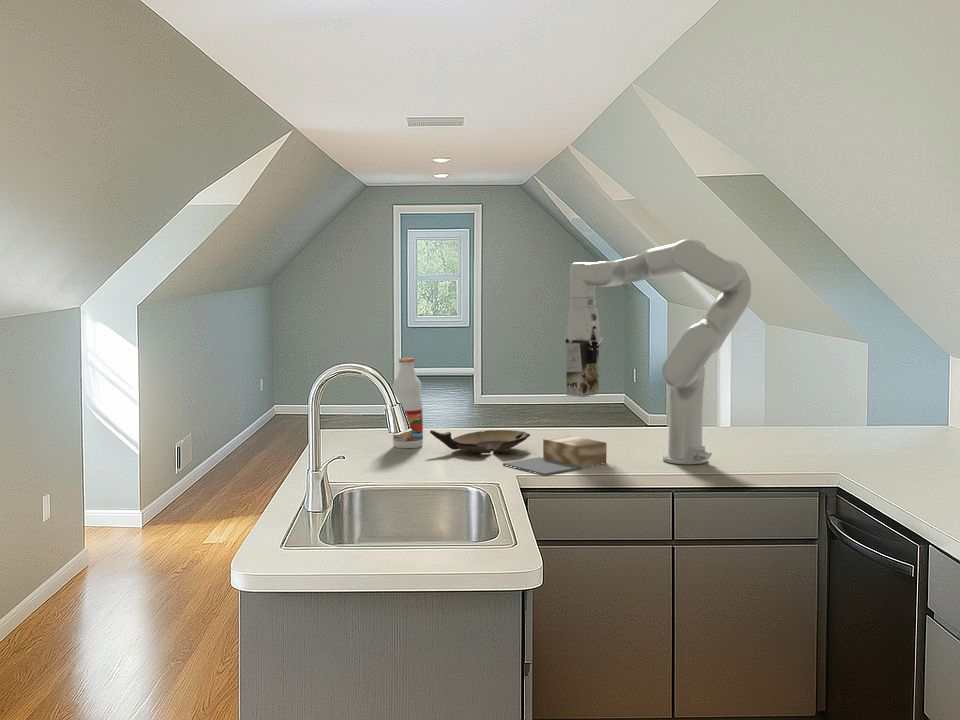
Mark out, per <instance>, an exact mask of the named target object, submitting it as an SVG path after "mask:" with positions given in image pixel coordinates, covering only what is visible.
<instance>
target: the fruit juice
mask: <svg viewBox="0 0 960 720" xmlns="http://www.w3.org/2000/svg"><path fill="white" fill-rule="evenodd" d="M398 364H399V371H398V374H397V375H396V376H397V377H396V378H395V380H394V381H393V383H392V390H393V391H394V392H393V391H392V392H393V394H394V393H395V395H396V397H397V399H398V400H399V402H400V403H401V404H402V407H403V409H404V411H405V414H406V416H407V419H408V422H409V425H410V428H411V429H412V430H411V431H409V432H405V433H403V434H400V435H393V434H392V443H393V447H394V448H395V447H396V448H395V449H400V448H413V449H418V448H417V447H419V448H421V446H422V447H423V446H424V445H423V444H424V435H423V434H424V432H423V430H424V427H423V425H424V423H423V421H424V419H423V399H422V397H421V393H422V388H423V387H422V386H423V385H422V382H421V380H420V379H419V378H418V376H417V375H416V371H415V367H414V366H415V358H414V357H402V358H401V357H400V358H399V359H398Z"/></svg>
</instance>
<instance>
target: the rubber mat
mask: <svg viewBox="0 0 960 720" xmlns="http://www.w3.org/2000/svg"><path fill="white" fill-rule="evenodd" d="M503 465H508V466H512V467H516V468H520V469H523V470H522V471H524V470H527V471H526V472H528V471H531V472H530V473H532V472H536V473H539V474H538V475H540V474H542V475H541V476H544V477H545V476H551V475H555V474H556V473H557V474H561V473H567V472H572V471H577V470H582V469H583V468H582V467H581V466H577V465H573V464H568V463H564V462H559V461H555V460H550V459H546V458H543V457H542V456H538V457H532V458H527V459H521V460H515V461H510V462H509V461H508V462H503V463H502V466H503ZM512 467H511V468H512ZM516 468H515V469H516ZM520 469H519V470H520ZM536 473H535V474H536Z"/></svg>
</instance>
